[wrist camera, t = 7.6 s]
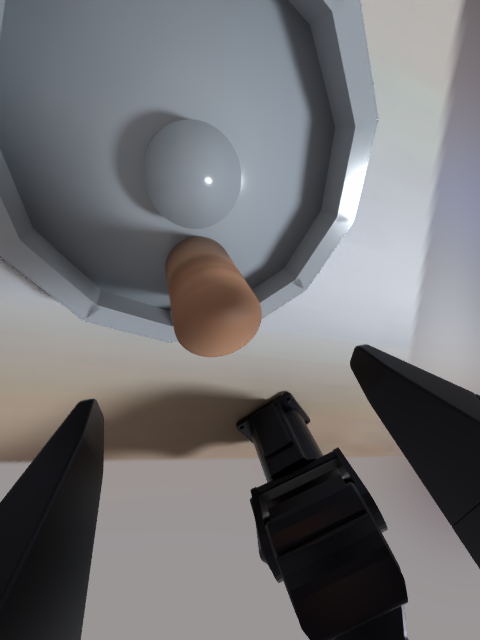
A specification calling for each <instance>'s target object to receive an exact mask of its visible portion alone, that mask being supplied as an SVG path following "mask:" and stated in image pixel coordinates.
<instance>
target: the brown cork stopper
mask: <svg viewBox="0 0 480 640" xmlns="http://www.w3.org/2000/svg"><path fill="white" fill-rule="evenodd" d="M165 270H166V278H167V285H168V292H169V299H170V306H171V313H172V319H173V326H174V332H175V335H176V338H177V340H178V341H179V343H180V344H181V345H182V346H183V347H184V348H185V349H186V350H188V351H190V352H191V353H194V354H196V355H199V356H204V357H218V356H224V355H227V354H230V353H233V352H235V351H237V350H239V349H241V348H242V347H243V346H245V345H246V344H247V343H248V342H249V341H250V340H251V339H252V338H253V337H254V335H255V334H256V332H257V331H258V328H259V326H260V323H261V318H262V311H261V306H260V303H259V301H258V299H257V297H256V296H255V294H254V293H253V291H252V290H251V288H250V287H249V285H248V284H247V282H246V281H245V279H244V278H243V276H242V275H241V273H240V272H239V270H238V269H237V267H236V266H235V264H234V263H233V261H232V260H231V258H230V257H229V255H228V253H227V252H226V250H225V249H224V248H223V247H222V246H221V245H220V244H219V243H218V242H216V241H215V240H213V239H210V238H207V237H191V238H187V239H185V240H183V241H181V242H179V243H178V244H177V245H175V247H174V248H173V249H172V250H171V251H170V253H169V255H168V257H167V260H166V265H165Z"/></svg>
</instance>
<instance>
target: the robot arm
mask: <svg viewBox="0 0 480 640" xmlns="http://www.w3.org/2000/svg"><path fill="white" fill-rule="evenodd" d="M350 366H351V369H352V371H353V373H354V375H355V377H356V378H357V380H358V382H359V384H360V386H361V388H362V390H363V392H364V393H365V395H366V397H367V399H368V401H369V402H370V404H371V406H372V407H373V409H374V410H375V412H376V413H377V415H378V416H379V418H380V419H381V421H382V422H383V424H384V425H385V427H386V428H387V430H388V431H389V433H390V434H391V436H392V437H393V439H394V440H395V442H396V443H397V445H398V446H399V448H400V449H401V451H402V452H403V454H404V455H405V457H406V458H407V460H408V461H409V463H410V464H411V466H412V467H413V469H414V470H415V472H416V473H417V475H418V476H419V478H420V479H421V481H422V483H423V484H424V486H425V487H426V489H427V490H428V492H429V493H430V494H431V496H432V498H433V499H434V500H435V502H436V503H437V505H438V507H439V508H440V509H441V511H442V513H443V514H444V516H445V517H446V518H447V520H448V522H449V523H450V525H452V528H453V529H454V531H455V532H456V534H457V535H458V537H459V538H460V540H461V541H462V543H463V544H464V545H465V547H466V549H467V550H468V552H469V553H470V555H471V556H472V558H473V559H474V561H475V562H476V564H477V565H478V567H479V568H480V395H477V394H474V393H473V392H471V391H468V390H466V389H464V388H462V387H460V386H457V385H455V384H453V383H451V382H449V381H446V380H444V379H442V378H440V377H437V376H435V375H433V374H431V373H429V372H426V371H424V370H422V369H420V368H418V367H416V366H413V365H411V364H409V363H407V362H405V361H402V360H400V359H398V358H396V357H394V356H391V355H389V354H387V353H385V352H383V351H380V350H378V349H376V348H374V347H372V346H369V345H366V344H364V345H359V346H356V347H355V349H354V351H353V354H352V357H351V360H350ZM309 422H310V419H309V417H308V416H307V414H306V413H305V412H304V410H303V409H302V408H301V406H300V405H299V404H298V402H297V401H296V400H295V398H294V397H293V396H292V394H291V393H286V394H284V395H282V396H280V397H279V398H277V399H276V400H274V401H272V402H271V403H269V404H267V405H266V406H264V407H262V408H261V409H259V410H257V411H256V412H254V413H253V414H251V415H249V416H248V417H246V418H244V419H243V420H241V421H239V422H238V423H237V424H236V426H237V429H238V430H239V431H240V432H241V433H242V434H244V435H245V436H246V437H247V438H248V439H250V440H251V441H252V442H253V443H254V445H255V448H256V451H257V454H258V457H259V460H260V462H261V465H262V468H263V471H264V474H265V477H266V480H267V483H266V484H264V485H262V486H260V487H258V488H257V487H255V488H253V489H251V494H252V498H251V499H250V502H251V506H252V509H253V513H254V517H255V521H256V528H257V538H258V546H259V554H260V558H261V560H262V561H263V562H265V563H266V564H268V565H269V567H270V569H271V571H272V573H273V575H274V577H275V579H276V580H277V582H278V583H280V582H282V581H284V583H285V586H286V589H287V591H288V594H289V597H290V599H291V602H292V605H293V607H294V610H295V612H296V615H297V617H298V619H299V623H300V626H301V628H302V630H303V631H304V633H305V634H306V635H307V636H308V638H309V639H310V640H408V638H407V630H406V619H405V609H404V604H406V603H407V602H408V597H407V591H406V585H405V580H404V577H403V575H402V573H401V570H400V567H399V565H398V563H397V561H396V559H395V557H394V555H393V554H392V551H391V550H390V548H389V546H388V544H387V542H386V540H385V538H384V536H383V535H382V532H384V531H386V530H387V526H386V523H385V521H384V519H383V517H382V515H381V513H380V511H379V509H378V507H377V505H376V503H375V502H374V500H373V498H372V497H371V495H370V493H369V492H368V490H367V489H366V487H365V486H364V484H363V483H362V481H361V480H360V478H359V477H358V475H357V474H356V473H355V471H354V470H353V468H352V467H351V465H350V464H349V462H348V461H347V459H346V458H345V457H344V455H343V454H342V452H341V451H340V449H339V448H336V449H334V450H333V451H332V452H330V453H328V454H326V455H324V456H323V454H322V453H321V451H320V449H319V447H318V445H317V443H316V442H315V440H314V438H313V436H312V434H311V433H310V431H309V429H308V427H307V424H308V423H309ZM103 459H104V417H103V414H102V412H101V409H100V407H99V405H98V403H97V401H96V400H95V399H88V400H83V401H80V402H79V403H78V404H77V405H76V406H75V408H74V409H73V410H72V411H71V413H70V414H69V415H68V417H67V418H66V419H65V420H64V422H63V423H62V424H61V426H60V427H59V428H58V429H57V431H56V432H55V433H54V434H53V436H52V437H51V438H50V440H49V441H48V442H47V443H46V445H45V446H44V447H43V449H42V450H41V451H40V452H39V454H38V455H37V456H36V458H35V459H34V460H33V461H32V463H31V464H30V465H29V466H28V468H27V469H26V470H25V472H24V473H23V474H22V476H21V477H20V478H19V479H18V481H17V482H16V483H15V485H14V486H13V487H12V489H11V490H10V491H9V492H8V493H7V495H6V496H5V497H4V499H3V500H2V501H1V502H0V640H81V633H82V625H83V618H84V610H85V603H86V596H87V589H88V581H89V574H90V566H91V559H92V552H93V544H94V537H95V530H96V522H97V515H98V508H99V500H100V493H101V485H102V477H103Z"/></svg>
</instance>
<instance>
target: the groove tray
mask: <svg viewBox="0 0 480 640" xmlns="http://www.w3.org/2000/svg"><path fill="white" fill-rule="evenodd" d="M377 119H378V113H377V106H376V100H375V93H374V87H373V80H372V74H371V67H370V60H369V54H368V47H367V41H366V34H365V28H364V21H363V14H362V8H361V1H360V0H0V257H2V258H3V259H4V260H6V261H7V262H8V263H9V264H11V265H12V266H13V267H15V268H16V269H17V270H18V271H20V272H21V273H22V274H24V275H25V276H26V277H27V278H29V279H30V280H31V281H33V282H34V283H35V284H37V285H38V286H39V287H40V288H42V289H43V290H44V291H46V292H47V293H48V294H49V295H51V296H52V297H53V298H55V299H56V300H57V301H58V302H60V303H61V304H62V305H64V306H65V307H66V308H68V309H69V310H70V311H71V312H73V313H74V314H75V315H77V316H78V317H79V318H80V319H82V320H85V321H86V322H90V323H93V324H97V325H101V326H105V327H109V328H113V329H117V330H121V331H125V332H129V333H133V334H137V335H141V336H145V337H149V338H153V339H157V340H161V341H165V342H168V343H169V341H170V343H171V342H177V341H178V340H177V338H176V335H175V332H174V326H173V319H172V313H171V306H170V299H169V292H168V285H167V278H166V270H165V265H166V260H167V257H168V255H169V253H170V251H171V250H172V249H173V248H174V247H175V245H177V244H178V243H179V242H181V241H183V240H185V239H187V238H191V237H207V238H210V239H213V240H215V241H216V242H218V243H219V244H220V245H221V246H222V247H223V248H224V249H225V250H226V252H227V253H228V255H229V257H230V258H231V260H232V261H233V263H234V264H235V266H236V267H237V269H238V270H239V272H240V273H241V275H242V276H243V278H244V279H245V281H246V282H247V284H248V285H249V287H250V288H251V290H252V291H253V293H254V294H255V296H256V297H257V299H258V301H259V303H260V306H261V311H262V318H264V317H265V316H267V315H268V314H270V313H272V312H273V311H275V310H276V309H278V308H279V307H281V306H282V305H284V304H286V303H287V302H289V301H290V300H292V299H293V298H295V297H297V296H298V295H300V294H301V293H303V292H304V291H305V290H307V288H308V287H309V285H310V284H311V282H312V281H313V280H314V278H315V277H316V275H317V274H318V272H319V271H320V270H321V268H322V267H323V265H324V264H325V262H326V261H327V260H328V258H329V257H330V255H331V254H332V252H333V251H334V250H335V248H336V247H337V245H338V244H339V242H340V241H341V240H342V238H343V237H344V235H345V234H346V232H347V231H348V230H349V228H350V227H351V225H352V224H353V222H352V221H354V219H355V215H356V211H357V207H358V202H359V198H360V194H361V190H362V186H363V182H364V177H365V173H366V169H367V165H368V161H369V157H370V152H371V148H372V144H373V140H374V136H375V132H376V127H377V123H378V120H377ZM262 318H261V319H262Z"/></svg>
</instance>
